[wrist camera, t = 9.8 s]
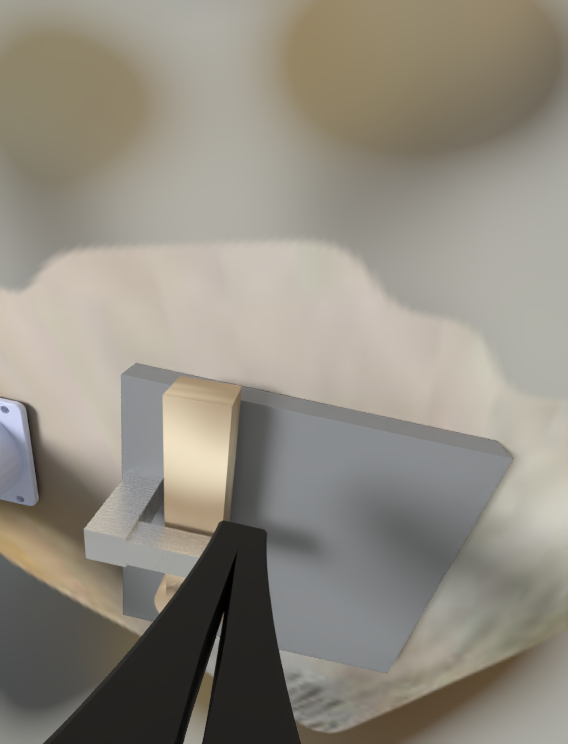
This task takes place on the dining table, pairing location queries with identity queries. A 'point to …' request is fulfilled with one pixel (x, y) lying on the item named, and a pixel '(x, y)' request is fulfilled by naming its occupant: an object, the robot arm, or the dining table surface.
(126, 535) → the keeper
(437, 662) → the dining table surface
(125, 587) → the board
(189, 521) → the link
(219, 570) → the robot arm
